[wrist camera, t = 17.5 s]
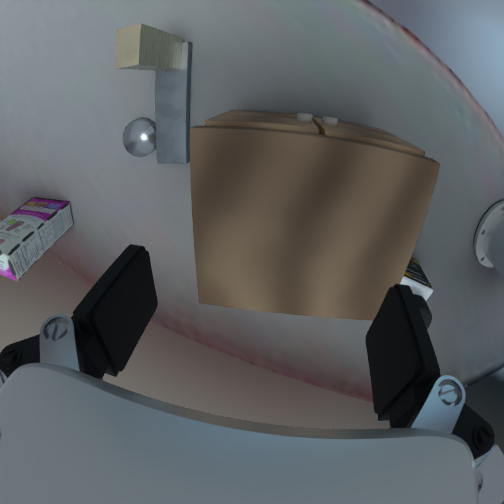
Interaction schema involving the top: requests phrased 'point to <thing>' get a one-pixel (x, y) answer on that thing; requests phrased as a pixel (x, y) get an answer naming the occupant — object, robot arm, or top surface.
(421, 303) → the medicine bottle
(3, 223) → the candy bar box
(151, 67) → the wood and grey l-block
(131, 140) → the steel token
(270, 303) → the cabinet
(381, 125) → the top surface
